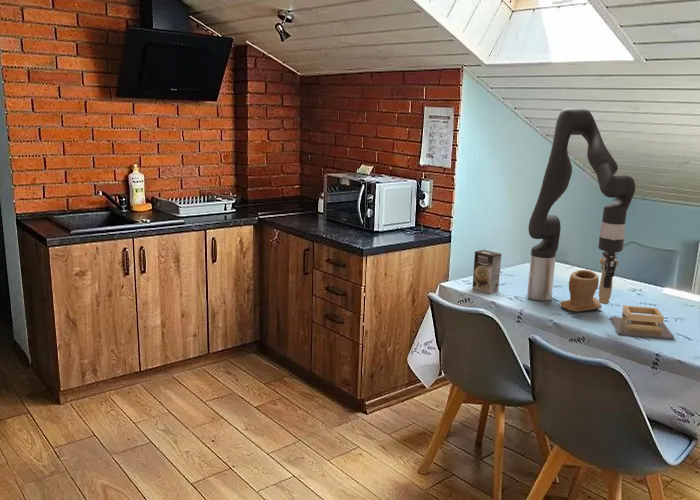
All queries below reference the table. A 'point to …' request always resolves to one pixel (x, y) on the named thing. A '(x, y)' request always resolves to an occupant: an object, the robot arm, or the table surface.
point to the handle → (603, 292)
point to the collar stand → (641, 323)
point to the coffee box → (486, 271)
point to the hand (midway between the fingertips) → (605, 285)
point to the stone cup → (582, 291)
